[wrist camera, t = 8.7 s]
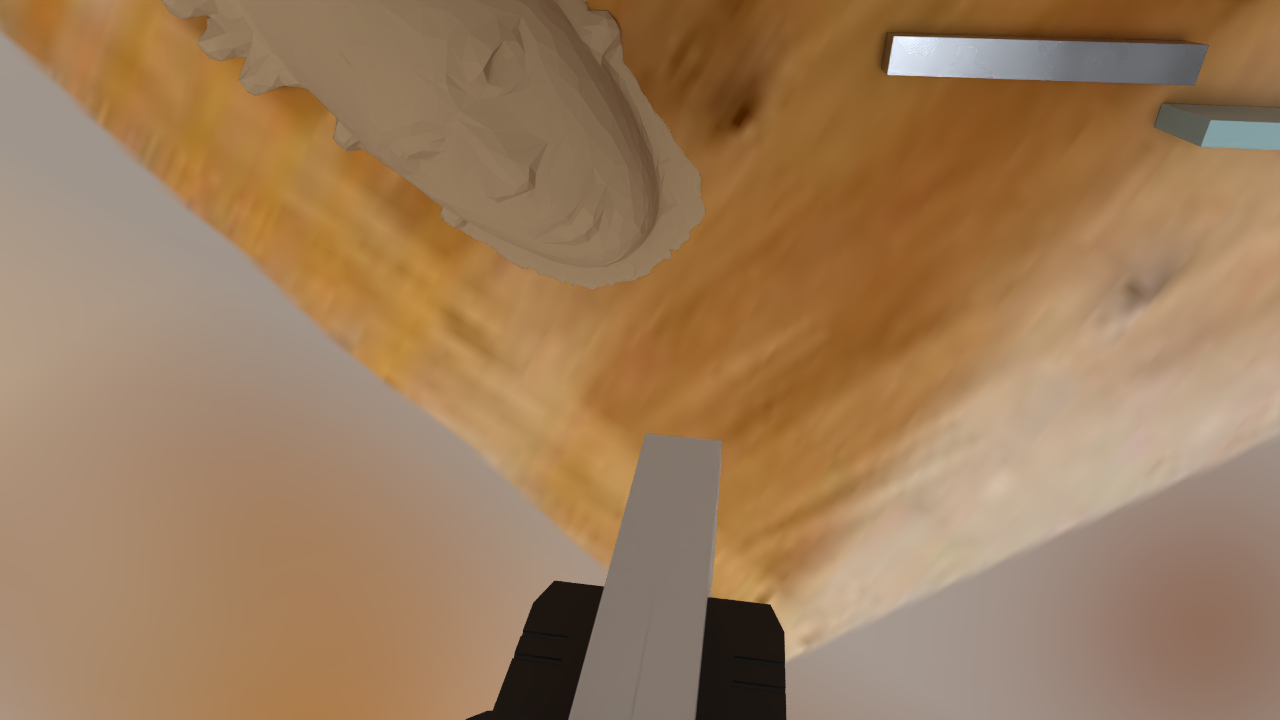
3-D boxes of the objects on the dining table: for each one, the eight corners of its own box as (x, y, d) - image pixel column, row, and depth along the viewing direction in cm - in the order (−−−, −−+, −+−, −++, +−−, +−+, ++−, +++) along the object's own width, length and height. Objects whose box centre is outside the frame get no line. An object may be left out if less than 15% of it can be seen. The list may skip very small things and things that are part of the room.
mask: (571, 414, 37) (33, -27, 31) (601, 351, 43) (153, -31, 36) (791, 209, 30) (148, -420, 23) (790, 167, 36) (275, -346, 29)
